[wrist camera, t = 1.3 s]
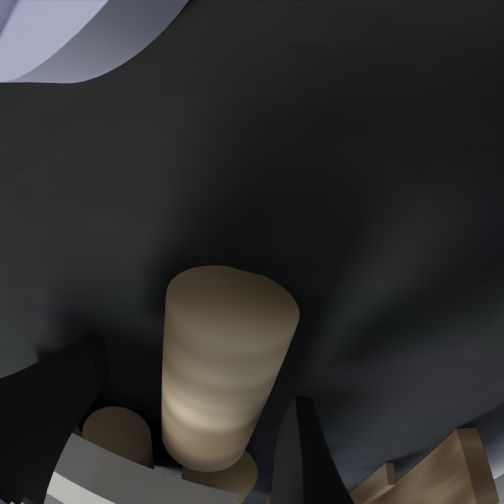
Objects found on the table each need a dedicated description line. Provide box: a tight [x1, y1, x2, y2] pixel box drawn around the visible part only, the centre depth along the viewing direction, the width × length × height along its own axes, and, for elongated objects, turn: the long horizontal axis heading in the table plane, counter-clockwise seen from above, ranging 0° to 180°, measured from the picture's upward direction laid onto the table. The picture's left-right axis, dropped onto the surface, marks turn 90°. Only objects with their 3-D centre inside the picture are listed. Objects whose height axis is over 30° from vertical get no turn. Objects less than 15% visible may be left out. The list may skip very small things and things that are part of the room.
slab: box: [47, 433, 239, 504], centre depth 12 cm, size 12×14×2 cm
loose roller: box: [162, 265, 300, 472], centre depth 10 cm, size 8×4×4 cm, turn 168°
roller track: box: [72, 407, 396, 504], centre depth 15 cm, size 8×25×4 cm, turn 78°
